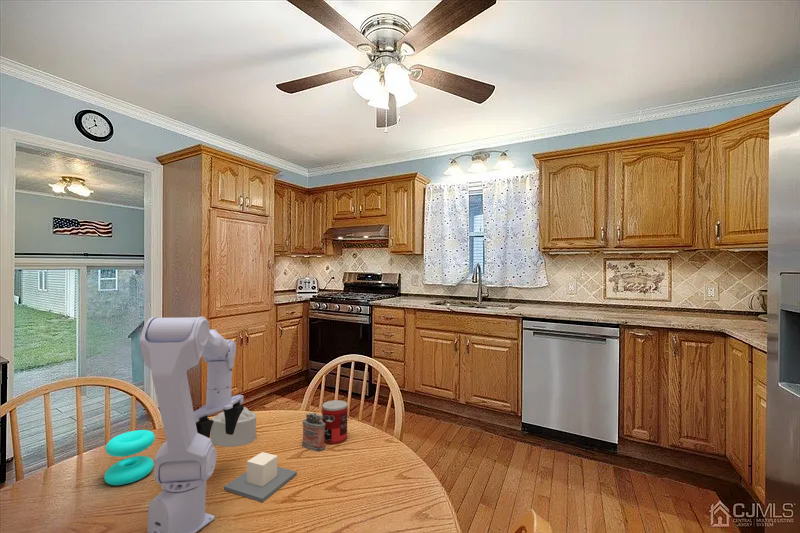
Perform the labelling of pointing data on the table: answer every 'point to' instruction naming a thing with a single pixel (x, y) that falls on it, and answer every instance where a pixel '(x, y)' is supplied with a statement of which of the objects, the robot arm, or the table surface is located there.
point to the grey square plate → (258, 492)
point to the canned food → (335, 421)
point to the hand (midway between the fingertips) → (217, 440)
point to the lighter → (313, 432)
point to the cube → (261, 469)
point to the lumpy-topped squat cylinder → (242, 433)
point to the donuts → (131, 466)
